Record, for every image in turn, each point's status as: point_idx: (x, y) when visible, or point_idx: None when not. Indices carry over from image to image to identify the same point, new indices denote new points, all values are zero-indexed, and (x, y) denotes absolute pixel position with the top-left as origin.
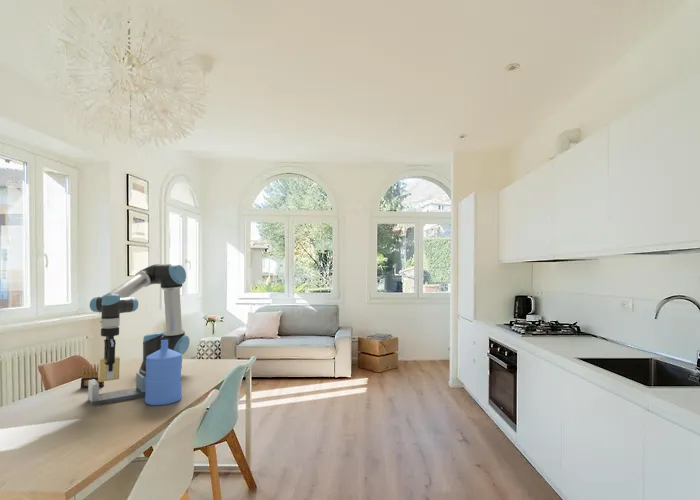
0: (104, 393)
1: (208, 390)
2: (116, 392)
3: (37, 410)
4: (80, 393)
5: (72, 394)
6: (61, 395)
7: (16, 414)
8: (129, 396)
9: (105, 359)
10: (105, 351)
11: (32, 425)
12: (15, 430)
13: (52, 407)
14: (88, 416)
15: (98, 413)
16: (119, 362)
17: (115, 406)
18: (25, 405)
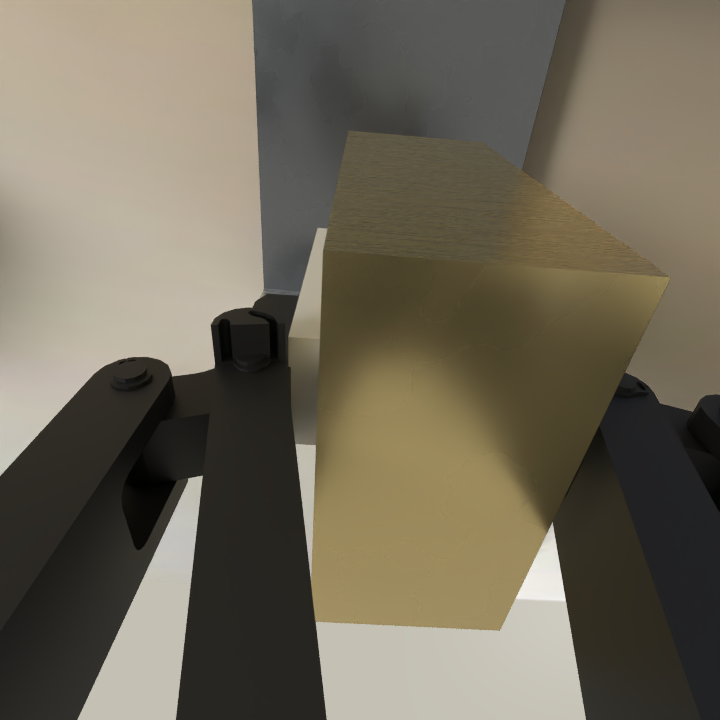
0: (277, 212)
1: None
2: (321, 104)
3: (307, 518)
4: (18, 312)
5: (26, 357)
6: (23, 407)
7: (311, 568)
8: (556, 15)
9: (525, 570)
10: (81, 697)
11: (544, 548)
12: (551, 583)
13: (300, 472)
14: (667, 382)
15: (671, 330)
16: (587, 221)
17: (630, 198)
18: (167, 538)
